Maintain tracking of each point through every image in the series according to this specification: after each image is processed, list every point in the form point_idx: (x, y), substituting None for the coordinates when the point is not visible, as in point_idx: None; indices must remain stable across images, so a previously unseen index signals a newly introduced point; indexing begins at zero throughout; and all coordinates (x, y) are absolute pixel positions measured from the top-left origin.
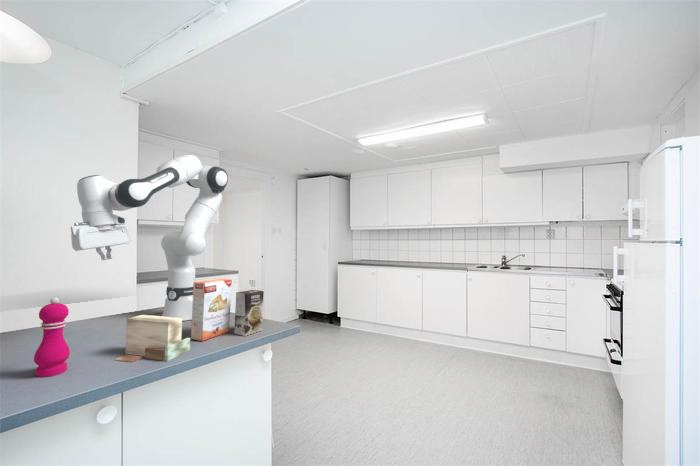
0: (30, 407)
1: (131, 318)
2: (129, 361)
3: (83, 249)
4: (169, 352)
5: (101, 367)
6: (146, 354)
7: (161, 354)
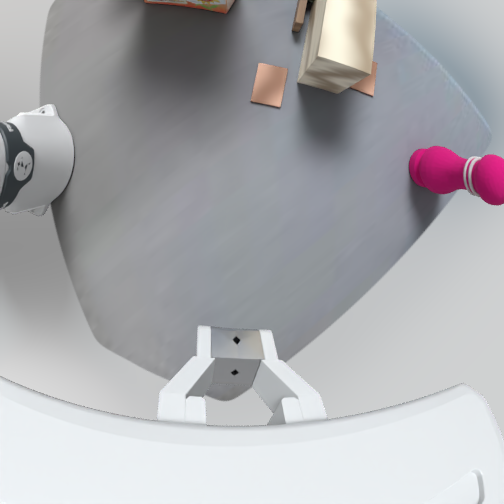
0: (484, 124)
1: (365, 64)
2: (376, 67)
3: (459, 384)
4: None
5: (401, 102)
6: None
7: None
